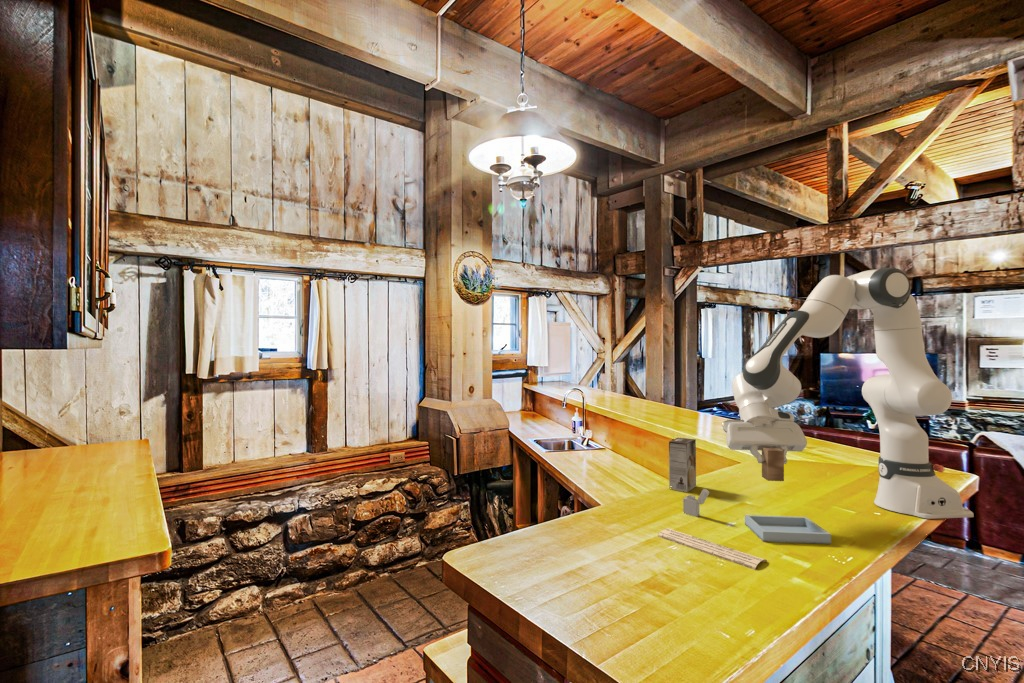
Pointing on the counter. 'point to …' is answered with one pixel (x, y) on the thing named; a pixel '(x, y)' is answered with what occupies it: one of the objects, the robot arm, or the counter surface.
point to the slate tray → (787, 529)
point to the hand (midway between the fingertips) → (773, 462)
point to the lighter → (694, 503)
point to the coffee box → (682, 464)
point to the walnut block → (773, 464)
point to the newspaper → (711, 548)
